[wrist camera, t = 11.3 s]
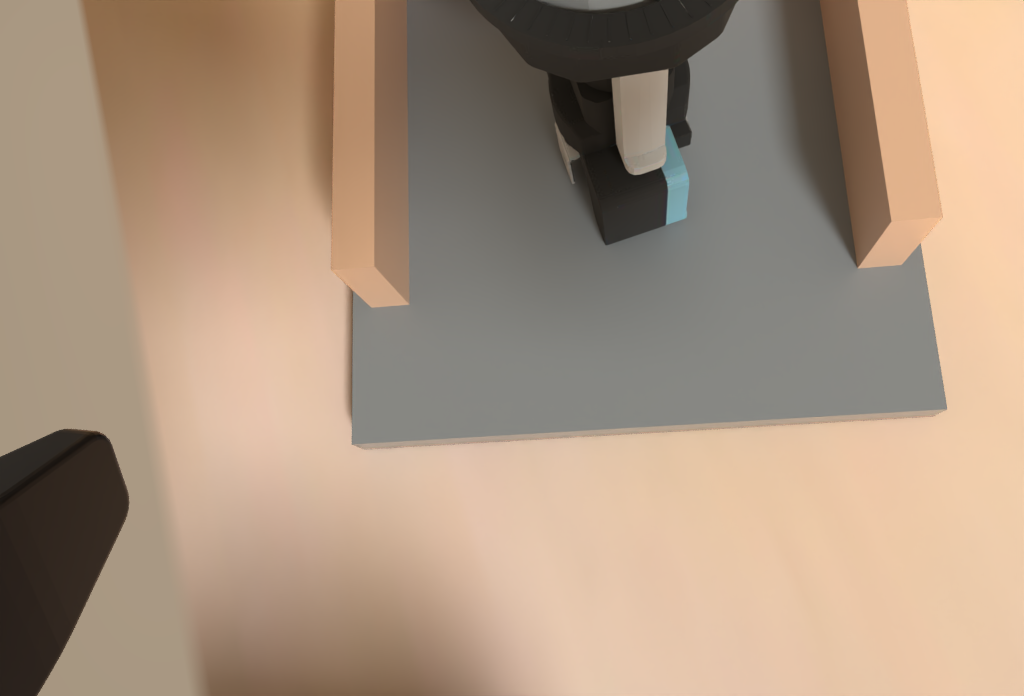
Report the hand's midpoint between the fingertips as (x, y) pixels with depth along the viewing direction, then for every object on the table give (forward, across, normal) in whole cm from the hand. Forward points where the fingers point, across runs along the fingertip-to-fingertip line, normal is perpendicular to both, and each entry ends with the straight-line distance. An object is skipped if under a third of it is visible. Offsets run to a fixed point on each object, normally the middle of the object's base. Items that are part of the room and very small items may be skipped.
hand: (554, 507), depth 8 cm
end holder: (+17, +1, +2) cm, 17 cm away
